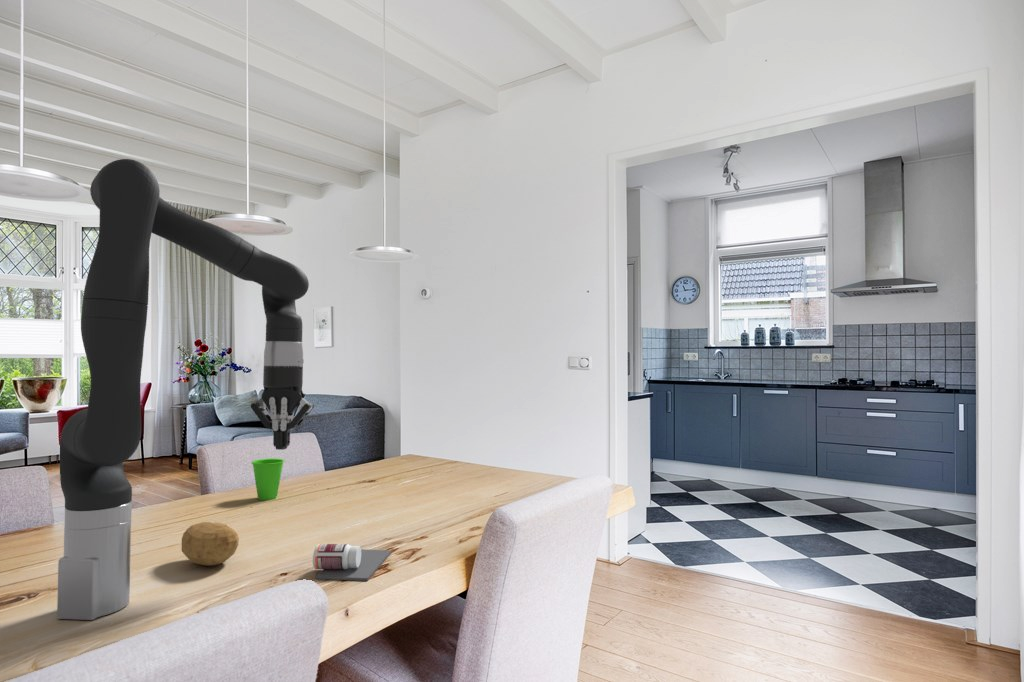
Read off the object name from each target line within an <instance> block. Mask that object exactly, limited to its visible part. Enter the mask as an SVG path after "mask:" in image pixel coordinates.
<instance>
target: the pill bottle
mask: <svg viewBox="0 0 1024 682" xmlns="http://www.w3.org/2000/svg"><path fill="white" fill-rule="evenodd" d="M361 549H362V548H361V546H360V545H350V544H348V543H317V544H316V546H315V547H314V550H313V553H312V566H313V567H314V569H315V570H324V569H340V570H345V569H348V568H349V567H351V568H358V567H359V565H360V562H361Z"/></svg>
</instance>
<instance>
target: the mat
mask: <svg viewBox="0 0 1024 682" xmlns="http://www.w3.org/2000/svg"><path fill="white" fill-rule="evenodd" d="M391 554H392V550H391V549H390V550H388V549H387V550H386V549H362V548H361V562H360V565H359V567H358V568H351V567H349V568H348V569H345V570H340V569H322V571H320V572H319V573H318V574H317V575H316V576H315V580H335V581H358V582H360V581H362V582H364V581H365V582H368V581H369V580H370V579H371V578H372V576H374V574H375V573H376V572H377V571H378V570H379V568H380V567H381V566H382V565H383V564H384V562H385V561H386V560H387V559H388V558H389V557H390V555H391Z"/></svg>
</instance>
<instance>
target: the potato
mask: <svg viewBox="0 0 1024 682" xmlns="http://www.w3.org/2000/svg"><path fill="white" fill-rule="evenodd" d="M239 540H240V538H239V535H238V533H237V531H236V530H235V529H234V528H232V527H231V526H229V525H227V524H225V523H221V522H210V521H202V522H199V523H195V524H192V525H190V526H189V527H188V528H187V529H186V530H185V531H184V532H183V534H182V536H181V551H182V554H183V555H184V556H185V557H186V558H187V559H188V560H189V562H191V563H194V564H197V565H202V566H206V567H207V566H209V567H210V566H211V567H212V566H217V565H220V564H223V563H225V562H227V560H229V558H231V557H232V556H233V555H235V553H236V551H237V549H238V546H239Z"/></svg>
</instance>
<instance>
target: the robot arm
mask: <svg viewBox="0 0 1024 682" xmlns="http://www.w3.org/2000/svg"><path fill="white" fill-rule="evenodd" d="M158 182H159V181H158V179H157V178H156V176H155V174H154V173H153V171H152V170H151V169H150V168H149V167H148V166H146V165H145V164H144V163H142V162H140V161H138V160H135V159H131V158H119V159H116V160H113V161H111V162H109V163H107V164H106V165H104V166H103V167H102V168H101V169H100V170H98V172H97V174H95V177H94V178H93V179H92V181H91V184H90V189H89V190H90V197H91V200H92V201H93V204H94V205H95V206H96V208H98V210H99V226H98V227H99V230H98V239H97V243H96V247H95V250H94V254H93V256H92V259H91V262H90V266H89V269H88V272H87V276H86V280H85V285H84V291H83V296H82V302H81V303H82V305H81V313H80V315H81V317H80V332H81V339H82V343H83V349H84V352H85V355H86V356H85V357H86V361H87V364H88V369H89V374H90V376H89V377H90V388H89V389H90V390H89V396H88V405H87V408H84V409H82V410H78V411H77V412H75V413H74V414H73V415H71V416H70V417H69V418H68V419H67V421H66V422H65V424H64V425H63V428H62V431H61V435H60V441H59V467H60V468H59V470H60V471H59V472H60V473H59V477H60V481H59V482H60V487H61V492H62V494H63V497H64V525H63V526H64V527H63V531H64V533H63V557H60V558H59V559H58V562H57V564H58V565H57V567H58V568H57V602H56V603H57V604H56V605H57V606H56V619H58V620H59V619H60V620H63V619H64V620H79V621H80V620H82V621H83V620H84V621H86V620H87V621H92V620H95V619H98V618H100V617H103V616H106V615H110V614H113V613H115V612H117V611H119V610H122V609H123V608H125V607H127V606H128V605H129V603H130V595H131V593H130V590H131V588H130V585H131V552H132V549H131V546H132V545H131V544H132V543H131V542H132V541H131V540H132V510H133V509H132V507H133V505H132V502H133V487H132V485H131V483H130V481H129V479H127V477H126V475H125V471H124V465H123V463H124V462H126V461H127V460H129V459H130V458H131V457H132V456H133V455H134V453H136V450H137V448H138V447H139V445H140V442H141V438H142V426H143V425H142V403H141V402H142V399H141V398H142V397H141V379H142V378H141V376H142V370H143V369H142V367H143V361H144V360H143V358H144V345H145V336H146V330H147V318H148V308H149V307H148V305H149V286H150V243H151V237H152V234H154V235H156V236H157V237H161V238H162V239H165V240H167V241H168V242H171V243H173V244H175V245H177V246H180V247H182V248H184V249H185V250H187V251H189V252H191V253H193V254H195V255H196V256H199V257H200V258H202V259H204V260H205V261H208V262H210V263H211V264H213V265H215V266H216V267H218V268H219V269H222V270H224V271H225V272H227V273H229V274H231V275H232V276H235V277H236V278H239V279H240V280H243V281H248V282H253V283H255V284H258V285H261V296H262V297H261V298H262V304H263V305H262V306H263V310H264V315H265V320H266V321H265V322H266V324H265V343H264V344H265V345H264V350H263V373H262V374H263V375H262V376H263V381H262V385H263V391H262V393H261V396H260V397H261V398H260V399H259V400H257V401H256V402H252V403H250V409H252V411H253V413H254V414H255V415H256V416H257V418H258V419H259V421H260V422H261V423H262V425H263V426H264V427H265V428H266V429H267V428H268V429H271V430H272V431H273V438H272V439H273V441H272V442H273V444H272V445H273V447H275V450H277V451H278V450H282V451H283V450H286V449H287V448H288V447H289V446H290V444H291V430H292V429H295V428H299V427H300V426H301V424H302V423H303V422H304V421H305V419H306V418H307V417H308V416H309V414H310V413H311V412H312V410H313V409H314V407H315V404H314V403H312V402H309V401H307V399H305V394H304V392H303V382H304V381H303V379H304V378H303V377H304V376H303V375H304V350H303V320H302V317H301V316H300V315H299V314H297V310H296V309H297V308H296V300H299V299H301V298H303V297H304V296H305V295H306V293H307V292H308V290H309V286H310V285H309V284H310V283H309V279H308V276H307V274H306V273H305V272H304V271H303V270H302V269H301V268H299V267H298V266H297V265H295V264H293V263H291V262H289V261H287V260H285V259H283V258H280V257H278V256H276V255H273V254H271V253H268V252H265V251H263V250H262V249H260V248H258V247H257V246H255V245H254V244H252V243H250V242H248V241H247V240H245V239H244V238H242V237H240V236H239V235H237V234H235V233H233V232H231V231H230V230H227V229H225V228H223V227H221V226H218V225H217V224H213V223H210V222H207V221H205V220H203V219H200V218H198V217H195V216H193V215H190V214H189V213H187V212H184V211H183V210H180V209H178V207H176V206H173V205H172V204H170V203H169V202H167V201H166V200H165V199H163V198H162V197H160V194H161V193H160V186H159V183H158ZM267 409H268V410H267ZM297 409H299V410H298V412H297V414H295V411H297ZM294 415H295V416H294Z"/></svg>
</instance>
